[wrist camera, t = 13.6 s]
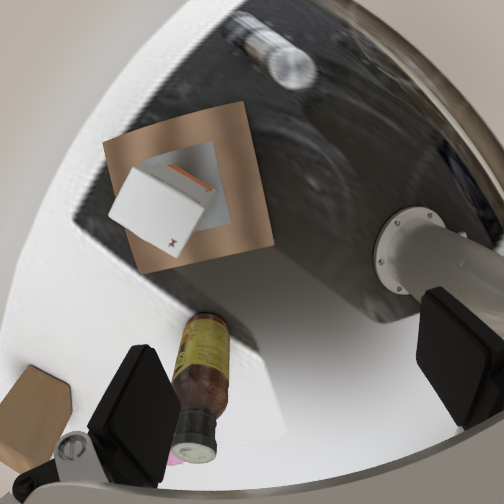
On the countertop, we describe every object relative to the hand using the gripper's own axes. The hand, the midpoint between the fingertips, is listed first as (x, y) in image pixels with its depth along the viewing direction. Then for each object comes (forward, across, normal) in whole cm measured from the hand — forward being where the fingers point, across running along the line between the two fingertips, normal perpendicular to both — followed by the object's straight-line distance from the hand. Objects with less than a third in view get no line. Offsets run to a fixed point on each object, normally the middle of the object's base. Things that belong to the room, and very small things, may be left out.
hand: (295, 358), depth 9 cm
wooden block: (+25, +47, +24) cm, 58 cm away
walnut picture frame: (+26, +8, -5) cm, 28 cm away
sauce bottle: (+27, +11, +14) cm, 32 cm away
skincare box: (+23, +8, -5) cm, 25 cm away
